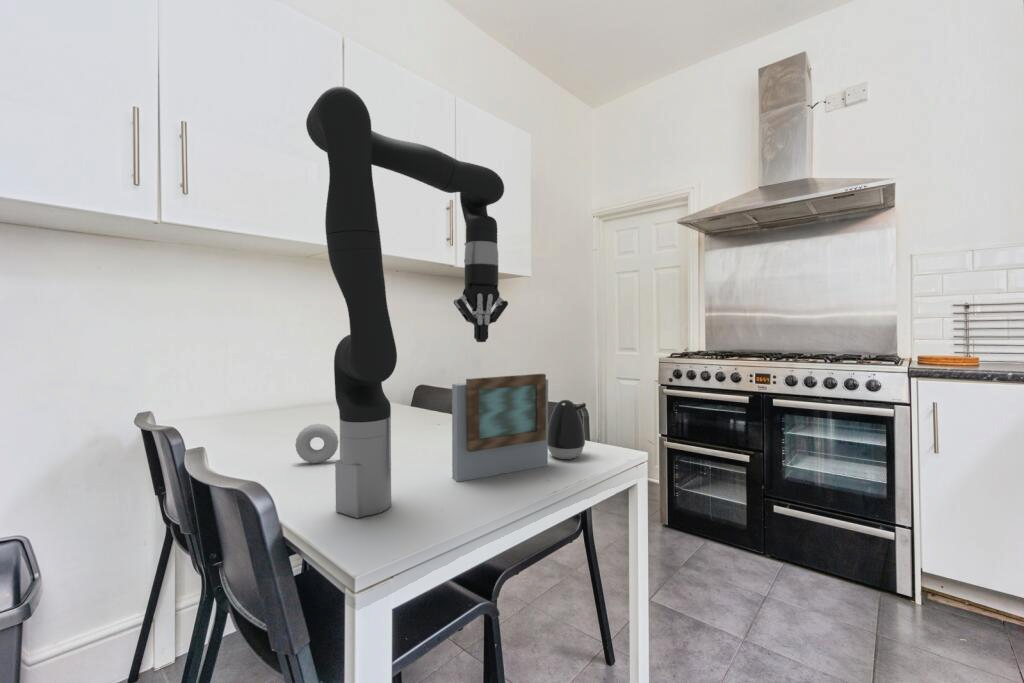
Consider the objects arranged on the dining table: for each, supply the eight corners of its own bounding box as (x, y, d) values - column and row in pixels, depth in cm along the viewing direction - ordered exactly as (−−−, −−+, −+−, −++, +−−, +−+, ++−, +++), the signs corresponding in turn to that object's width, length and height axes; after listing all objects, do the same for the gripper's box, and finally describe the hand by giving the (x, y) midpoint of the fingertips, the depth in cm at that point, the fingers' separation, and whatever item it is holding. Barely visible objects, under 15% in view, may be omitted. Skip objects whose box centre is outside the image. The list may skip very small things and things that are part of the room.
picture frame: (469, 452, 97) (468, 379, 96) (466, 450, 98) (466, 378, 98) (545, 440, 107) (545, 374, 106) (542, 438, 108) (542, 373, 107)
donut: (294, 466, 108) (293, 426, 108) (297, 462, 112) (296, 423, 111) (337, 463, 111) (337, 424, 110) (339, 459, 114) (339, 421, 114)
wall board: (457, 481, 98) (457, 385, 97) (452, 477, 101) (452, 383, 100) (547, 465, 110) (548, 379, 109) (541, 462, 112) (541, 378, 112)
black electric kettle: (588, 462, 112) (589, 403, 112) (547, 462, 112) (548, 403, 112) (582, 451, 122) (582, 396, 122) (544, 451, 122) (545, 396, 122)
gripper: (460, 259, 92) (460, 342, 93) (515, 264, 98) (515, 342, 99) (447, 264, 99) (447, 341, 99) (500, 268, 105) (499, 341, 106)
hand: (481, 341), depth 99 cm, fingers closed
